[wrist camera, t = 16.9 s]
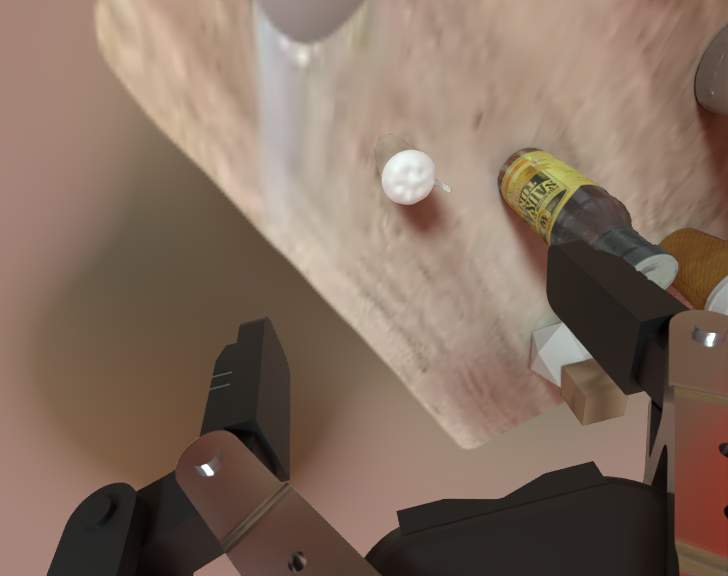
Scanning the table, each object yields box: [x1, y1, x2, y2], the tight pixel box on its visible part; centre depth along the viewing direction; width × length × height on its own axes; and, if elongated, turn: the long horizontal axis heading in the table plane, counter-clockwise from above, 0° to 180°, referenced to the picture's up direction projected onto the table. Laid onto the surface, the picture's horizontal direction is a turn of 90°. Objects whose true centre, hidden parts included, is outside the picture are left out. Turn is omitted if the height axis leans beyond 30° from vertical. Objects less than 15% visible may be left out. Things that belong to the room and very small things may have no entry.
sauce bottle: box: [498, 148, 678, 290], centre depth 37 cm, size 7×6×20 cm
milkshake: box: [374, 134, 452, 205], centre depth 38 cm, size 4×5×10 cm
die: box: [530, 322, 593, 388], centre depth 56 cm, size 8×9×10 cm
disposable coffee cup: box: [659, 228, 728, 315], centre depth 49 cm, size 10×10×12 cm
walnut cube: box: [560, 358, 628, 426], centre depth 51 cm, size 5×5×5 cm
